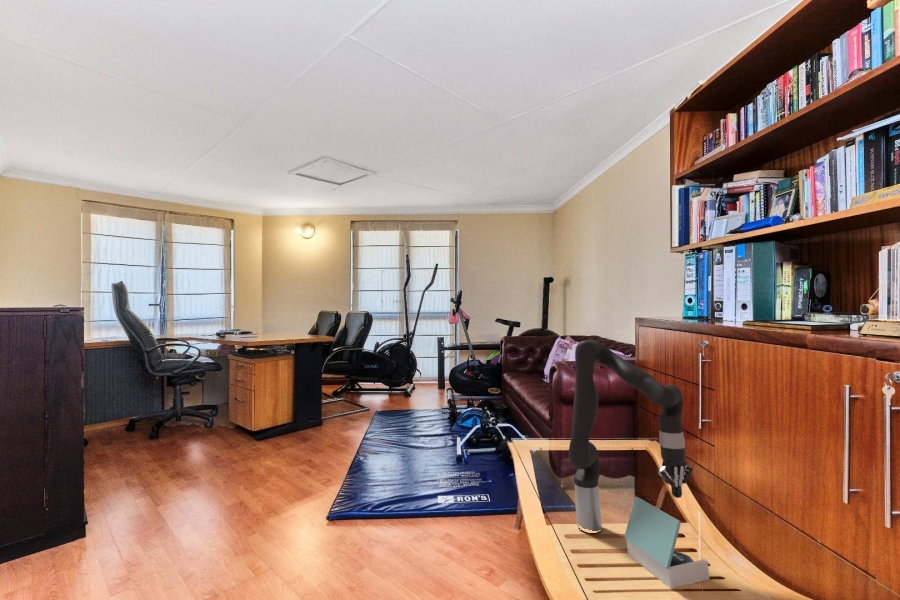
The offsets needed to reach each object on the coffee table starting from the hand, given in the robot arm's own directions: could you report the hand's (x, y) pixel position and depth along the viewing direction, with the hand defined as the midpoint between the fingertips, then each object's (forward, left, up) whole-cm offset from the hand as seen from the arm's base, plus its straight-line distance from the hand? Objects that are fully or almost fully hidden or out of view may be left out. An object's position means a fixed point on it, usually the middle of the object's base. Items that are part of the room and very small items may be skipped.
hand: (677, 496), depth 133 cm
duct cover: (0, -11, -9) cm, 14 cm away
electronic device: (0, -5, -22) cm, 22 cm away
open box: (0, -7, -21) cm, 22 cm away
